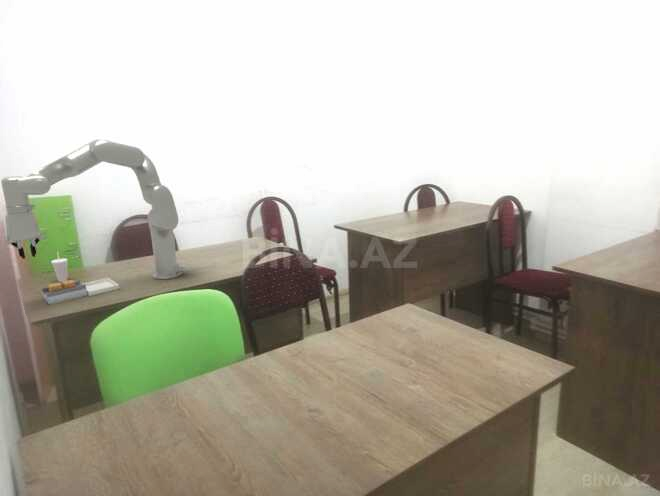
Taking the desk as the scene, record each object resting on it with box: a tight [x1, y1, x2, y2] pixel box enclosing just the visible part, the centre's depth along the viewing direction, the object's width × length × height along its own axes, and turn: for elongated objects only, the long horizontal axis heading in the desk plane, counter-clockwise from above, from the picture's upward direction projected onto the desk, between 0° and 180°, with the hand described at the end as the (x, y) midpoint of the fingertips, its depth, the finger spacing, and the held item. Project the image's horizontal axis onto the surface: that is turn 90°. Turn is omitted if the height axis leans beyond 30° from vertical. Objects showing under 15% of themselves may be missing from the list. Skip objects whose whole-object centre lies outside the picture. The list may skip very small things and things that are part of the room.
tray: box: [81, 277, 121, 297], centre depth 204 cm, size 12×14×2 cm
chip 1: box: [47, 282, 62, 292], centre depth 192 cm, size 4×4×3 cm
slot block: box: [41, 279, 89, 305], centre depth 195 cm, size 14×10×4 cm
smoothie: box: [50, 250, 69, 283], centre depth 215 cm, size 6×6×14 cm
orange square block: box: [61, 279, 76, 289], centre depth 196 cm, size 4×4×3 cm
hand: (28, 256), depth 184 cm, fingers open, 2 cm apart
